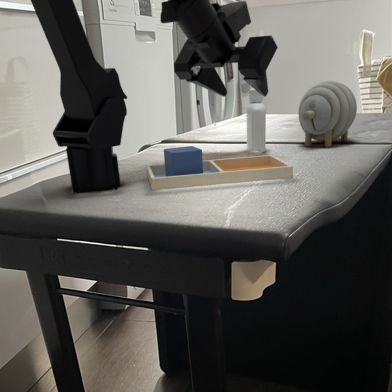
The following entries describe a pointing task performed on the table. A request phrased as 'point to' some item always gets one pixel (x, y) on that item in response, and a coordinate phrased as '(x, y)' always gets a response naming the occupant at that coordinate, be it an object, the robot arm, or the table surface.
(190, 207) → the table surface
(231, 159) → the sorting tray
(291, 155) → the table surface
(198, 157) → the slate block
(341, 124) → the toy sheep
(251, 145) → the eye dropper bottle
